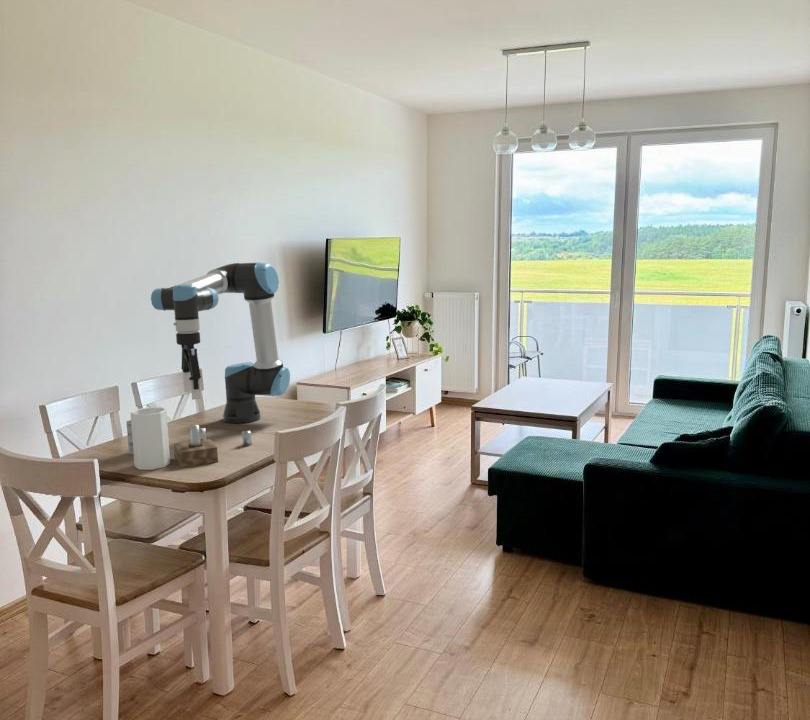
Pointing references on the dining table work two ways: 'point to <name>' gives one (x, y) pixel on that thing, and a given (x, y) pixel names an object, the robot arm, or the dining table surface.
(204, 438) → the medium pin
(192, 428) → the long pin
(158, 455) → the cup
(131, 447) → the ink box
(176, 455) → the hole block
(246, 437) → the short pin
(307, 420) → the dining table surface
